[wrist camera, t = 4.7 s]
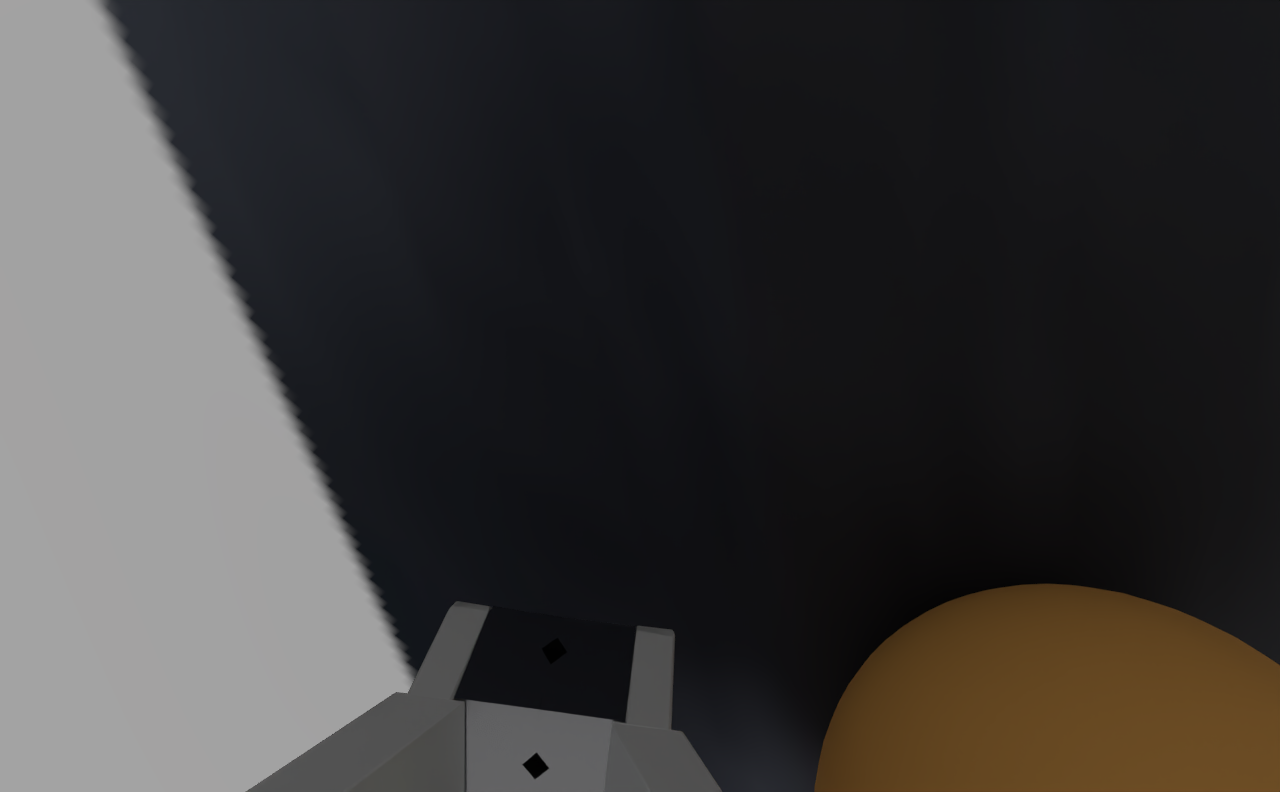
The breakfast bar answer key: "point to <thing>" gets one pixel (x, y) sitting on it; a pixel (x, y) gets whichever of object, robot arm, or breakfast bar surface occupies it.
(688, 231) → the breakfast bar surface
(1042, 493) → the breakfast bar surface
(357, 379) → the breakfast bar surface
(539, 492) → the breakfast bar surface
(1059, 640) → the ball
